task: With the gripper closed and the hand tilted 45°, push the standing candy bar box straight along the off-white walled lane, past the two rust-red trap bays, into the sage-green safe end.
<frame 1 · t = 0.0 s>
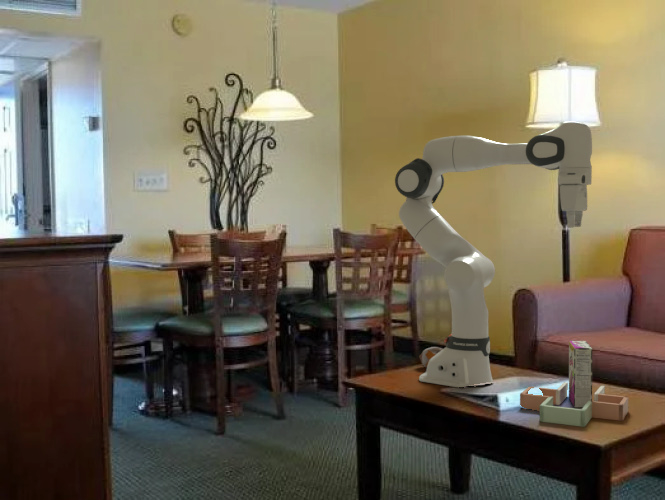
hand: (574, 227, 227), 48 cm above the table, fingers open, 8 cm apart
candy bar box: (579, 404, 217), resting in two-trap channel
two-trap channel: (573, 410, 210), on the table
decorative duck model: (440, 369, 264), on the table
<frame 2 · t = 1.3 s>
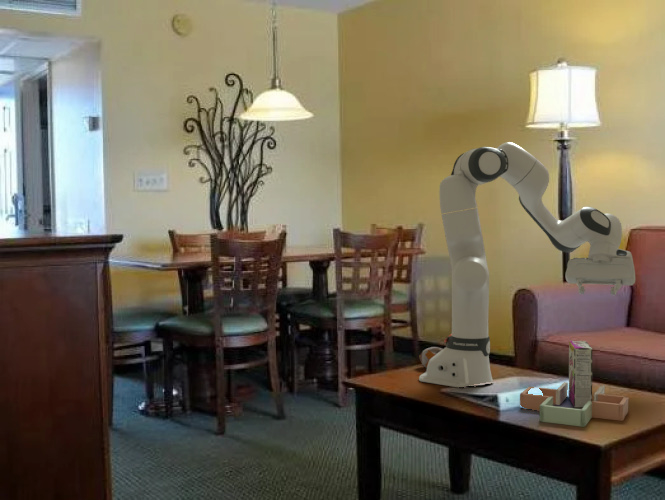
hand: (597, 293, 238), 28 cm above the table, fingers open, 8 cm apart
nothing on the table moved.
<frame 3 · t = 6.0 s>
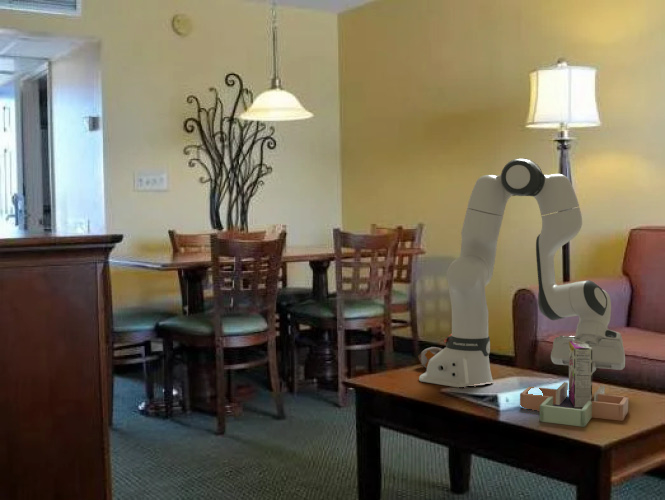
hand: (584, 377, 223), 6 cm above the table, fingers closed
candy bar box: (579, 404, 217), resting in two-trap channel, touching gripper
everything else where it was.
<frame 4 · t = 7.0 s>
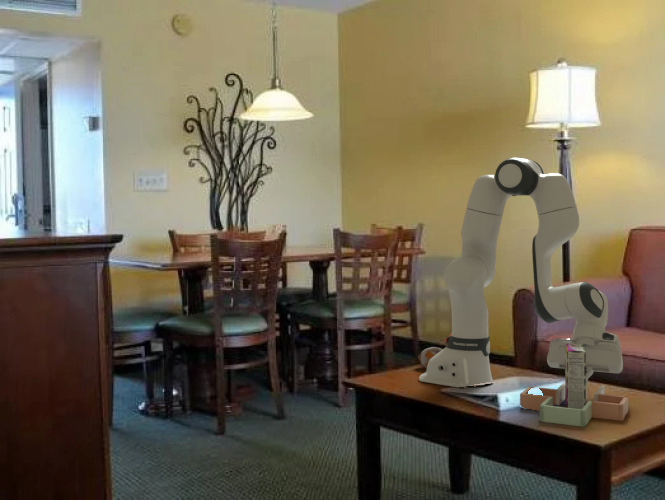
hand: (581, 381, 218), 6 cm above the table, fingers closed
candy bar box: (574, 408, 213), resting in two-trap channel, touching gripper
everything else where it was.
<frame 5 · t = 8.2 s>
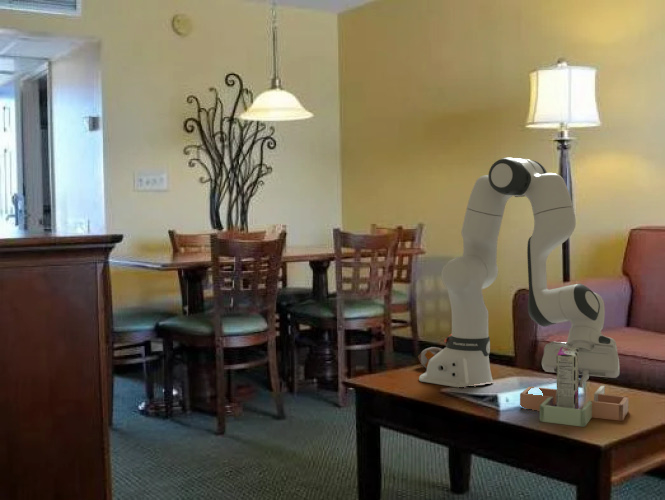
hand: (576, 386, 212), 6 cm above the table, fingers closed, pressing on candy bar box
candy bar box: (567, 413, 207), resting in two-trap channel, touching gripper
everything else where it was.
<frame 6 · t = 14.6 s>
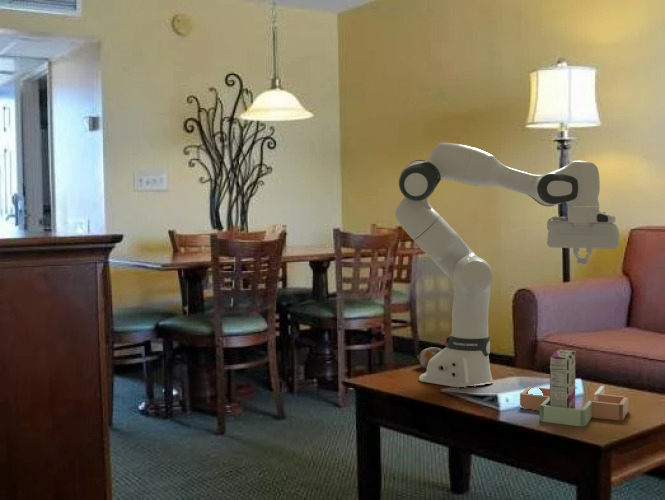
hand: (582, 263, 232), 37 cm above the table, fingers closed
candy bar box: (562, 417, 204), resting in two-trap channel
everything else where it was.
at the end: candy bar box inside the target area (1.6 cm from its centre), resting in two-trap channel; candy bar box tilted 0° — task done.
